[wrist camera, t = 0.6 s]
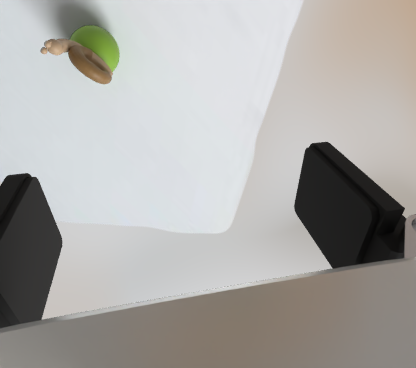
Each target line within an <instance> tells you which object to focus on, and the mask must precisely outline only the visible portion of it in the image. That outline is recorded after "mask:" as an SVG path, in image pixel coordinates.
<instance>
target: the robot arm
mask: <svg viewBox="0 0 416 368" xmlns="http://www.w3.org/2000/svg"><path fill="white" fill-rule="evenodd" d="M294 207H295V212H296V214H297V216H298V217H299V219H300V220H301V222H302V223H303V225H304V226H305V228H306V229H307V230H308V232H309V234H310V235H311V237H312V238H313V240H314V241H315V242H316V244H317V246H318V247H319V248H320V250H321V251H322V253H323V255H324V256H325V257H326V259H327V261H328V262H329V263H330V265H331V267H332V268H333V269H327V270H322V271H316V272H310V273H304V274H298V275H292V276H286V277H280V278H274V279H268V280H262V281H256V282H250V283H245V284H240V285H233V286H227V287H221V288H216V289H211V290H205V291H198V292H193V293H187V294H181V295H176V296H170V297H164V298H159V299H154V300H147V301H142V302H136V303H131V304H125V305H120V306H114V307H108V308H103V309H97V310H92V311H86V312H80V313H75V314H70V315H64V316H59V317H54V318H49V319H44V320H41V319H42V315H43V312H44V308H45V305H46V301H47V297H48V294H49V291H50V287H51V284H52V280H53V276H54V273H55V269H56V266H57V262H58V258H59V255H60V252H61V248H62V238H61V234H60V232H59V229H58V227H57V225H56V222H55V220H54V217H53V215H52V212H51V210H50V207H49V205H48V202H47V200H46V198H45V195H44V193H43V190H42V188H41V185H40V183H39V181H38V179H37V178H36V177H31V175H30V174H28V173H25V174H15V175H8V176H7V177H6V178H5V179H4V181H3V182H2V184H1V186H0V368H416V214H414V215H411V216H409V217H408V218H407V219H406V218H405V217H404V216H403V215H402V214H403V212H404V209H405V208H404V207H402V206H401V205H400V204H399V203H398V202H397V201H396V200H395V199H393V198H392V197H391V196H390V195H389V194H388V193H386V192H385V191H384V190H383V189H382V188H381V187H380V186H378V185H377V184H376V183H375V182H374V181H373V180H371V179H370V178H369V177H368V176H367V175H366V174H365V173H363V172H362V171H361V170H360V169H359V168H358V167H357V166H355V165H354V164H353V163H352V162H351V161H349V160H348V159H347V158H346V157H345V156H344V155H343V154H342V153H340V152H339V151H338V150H337V149H335V147H333V146H332V145H331V144H330V143H328V142H321V143H312V144H311V145H310V146H309V148H306V150H305V154H304V159H303V164H302V169H301V174H300V179H299V184H298V189H297V194H296V200H295V205H294Z"/></svg>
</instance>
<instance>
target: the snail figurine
mask: <svg viewBox="0 0 416 368" xmlns="http://www.w3.org/2000/svg"><path fill="white" fill-rule="evenodd" d="M44 45H45V47H46V48H45V47H42V48H41V53H42V54H46V53H47V50H48V51H49V52H50V53H51V54H53V55H60V54H62V53H63V52H68V55H69V59H70V60H71V62H72V63H73V65H74V66H75V67H76V68H77V69H78V70H79V71H80V72H81V73H83V74H84V75H85V76H87V77H88V78H90V79H92V80H93V81H95V82H98V83H101V84H108V83H109V82H110V81H111V79H112V77H111V76H112V75H113V73H112V72H113V71H114V69H115V68H116V67H117V65H118V62H119V48H118V45H117V43H116V41H115V39H114V38H113V36H112V35H111V34H110V33H109V32H107V31H106V30H105V29H103V28H101V27H98V26H93V25H87V26H83V27H81V28H79V29H77V30H76V31H75V32H74V33H73V34H72V36H71V38H70V40H68V39H57V40H55V39H50V40H48V41H45V43H44Z"/></svg>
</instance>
